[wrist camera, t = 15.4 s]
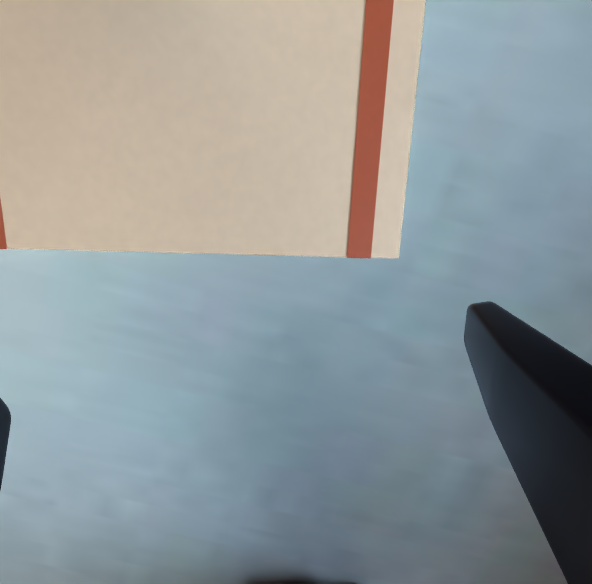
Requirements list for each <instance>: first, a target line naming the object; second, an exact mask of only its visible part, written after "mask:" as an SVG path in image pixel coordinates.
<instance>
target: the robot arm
mask: <svg viewBox="0 0 592 584" xmlns="http://www.w3.org/2000/svg"><path fill="white" fill-rule="evenodd" d="M464 342H465V347H466V350H467V353H468V356H469V359H470V362H471V365H472V368H473V371H474V374H475V377H476V380H477V383H478V386H479V389H480V392H481V395H482V398H483V401H484V404H485V407H486V409H487V412H488V415H489V418H490V420H491V422H492V425H493V427H494V429H495V431H496V433H497V436H498V438H499V440H500V442H501V444H502V446H503V448H504V450H505V452H506V454H507V457H508V459H509V461H510V463H511V465H512V467H513V469H514V471H515V473H516V475H517V478H518V480H519V482H520V484H521V486H522V488H523V490H524V492H525V494H526V496H527V499H528V501H529V503H530V505H531V507H532V509H533V511H534V513H535V515H536V517H537V520H538V522H539V524H540V526H541V528H542V530H543V532H544V534H545V536H546V538H547V541H548V543H549V545H550V547H551V549H552V551H553V553H554V555H555V557H556V559H557V562H558V564H559V566H560V568H561V570H562V572H563V574H564V576H565V578H566V580H567V583H568V584H592V365H590V364H589V363H587V362H586V361H584V360H583V359H581V358H579V357H578V356H576V355H575V354H573V353H572V352H570V351H568V350H567V349H565V348H564V347H562V346H561V345H559V344H558V343H556V342H554V341H553V340H551V339H550V338H548V337H547V336H545V335H544V334H542V333H540V332H539V331H537V330H536V329H534V328H533V327H531V326H530V325H528V324H526V323H525V322H523V321H522V320H520V319H519V318H517V317H516V316H514V315H512V314H511V313H509V312H508V311H506V310H505V309H503V308H502V307H500V306H498V305H497V304H495V303H493V302H490V301H487V302H481V303H475V304H471V305H470V306H469V307H468V309H467V315H466V324H465V332H464ZM10 424H11V415H10V411H9V409H8V407H7V406H6V404H5V403H4V402H3V401H2V399H1V398H0V489H1V484H2V477H3V471H4V464H5V457H6V451H7V444H8V437H9V431H10Z"/></svg>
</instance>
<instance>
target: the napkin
mask: <svg viewBox="0 0 592 584" xmlns="http://www.w3.org/2000/svg"><path fill="white" fill-rule="evenodd" d="M425 4H426V0H0V249H46V250H85V251H124V252H163V253H202V254H241V255H280V256H319V257H347V258H399V251H400V241H401V232H402V222H403V213H404V203H405V194H406V184H407V175H408V165H409V156H410V146H411V137H412V127H413V118H414V108H415V99H416V89H417V80H418V70H419V61H420V52H421V42H422V33H423V23H424V14H425Z"/></svg>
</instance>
